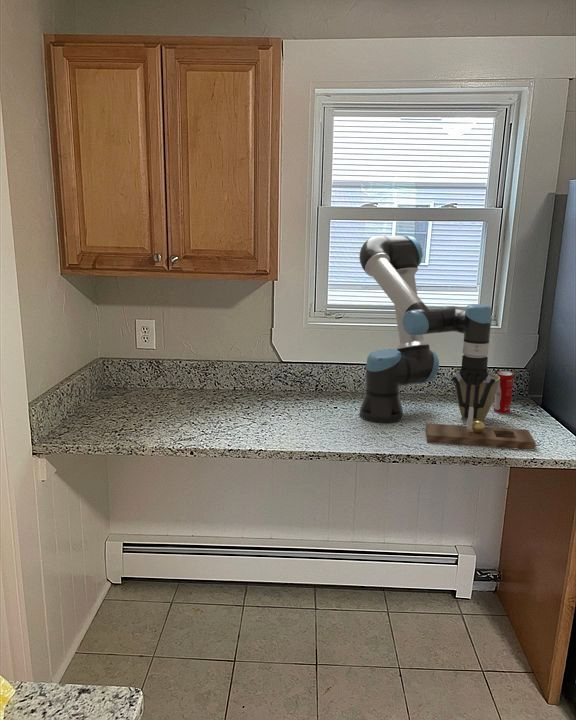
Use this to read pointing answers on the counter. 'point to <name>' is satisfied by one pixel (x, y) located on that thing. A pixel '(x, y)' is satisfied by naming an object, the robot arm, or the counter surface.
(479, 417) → the plant pot
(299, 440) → the counter surface
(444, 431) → the board
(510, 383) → the beverage can
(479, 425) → the brass ball
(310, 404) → the counter surface
